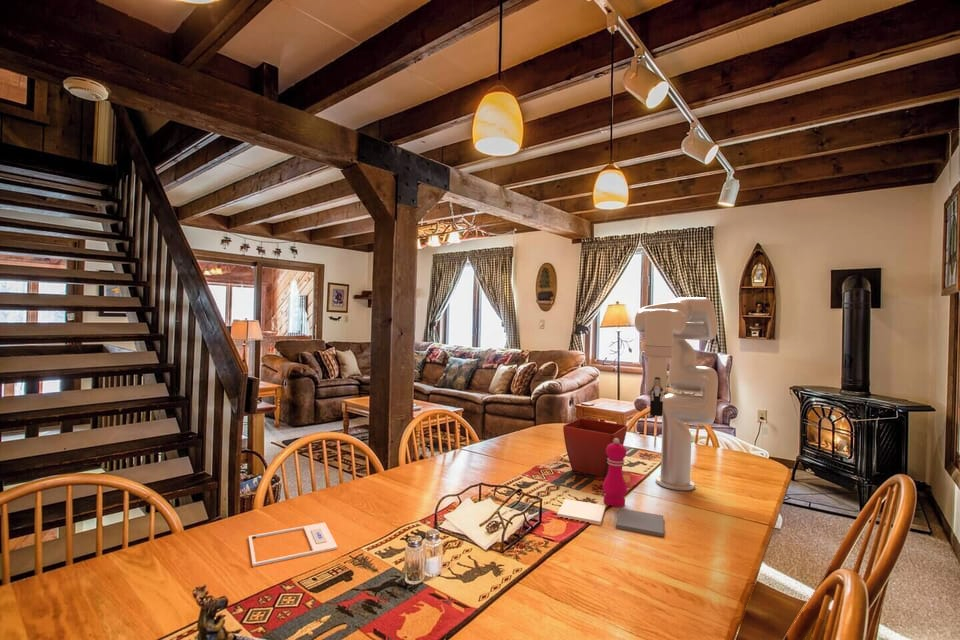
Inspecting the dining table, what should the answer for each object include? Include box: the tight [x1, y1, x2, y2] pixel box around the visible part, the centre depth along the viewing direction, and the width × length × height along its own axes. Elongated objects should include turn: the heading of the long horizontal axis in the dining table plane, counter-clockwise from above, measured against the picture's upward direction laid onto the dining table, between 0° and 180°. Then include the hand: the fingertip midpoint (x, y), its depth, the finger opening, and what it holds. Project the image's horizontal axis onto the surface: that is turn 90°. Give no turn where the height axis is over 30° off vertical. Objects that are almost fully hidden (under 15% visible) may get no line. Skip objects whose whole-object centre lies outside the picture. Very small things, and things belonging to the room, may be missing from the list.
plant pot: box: [562, 417, 628, 478], centre depth 175 cm, size 19×19×17 cm
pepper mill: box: [602, 438, 628, 508], centre depth 143 cm, size 7×7×20 cm
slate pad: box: [615, 507, 665, 538], centre depth 129 cm, size 12×12×1 cm
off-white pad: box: [556, 498, 606, 526], centre depth 135 cm, size 12×12×1 cm
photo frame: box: [247, 521, 339, 567], centre depth 111 cm, size 15×1×18 cm
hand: (656, 412), depth 133 cm, fingers open, 9 cm apart
